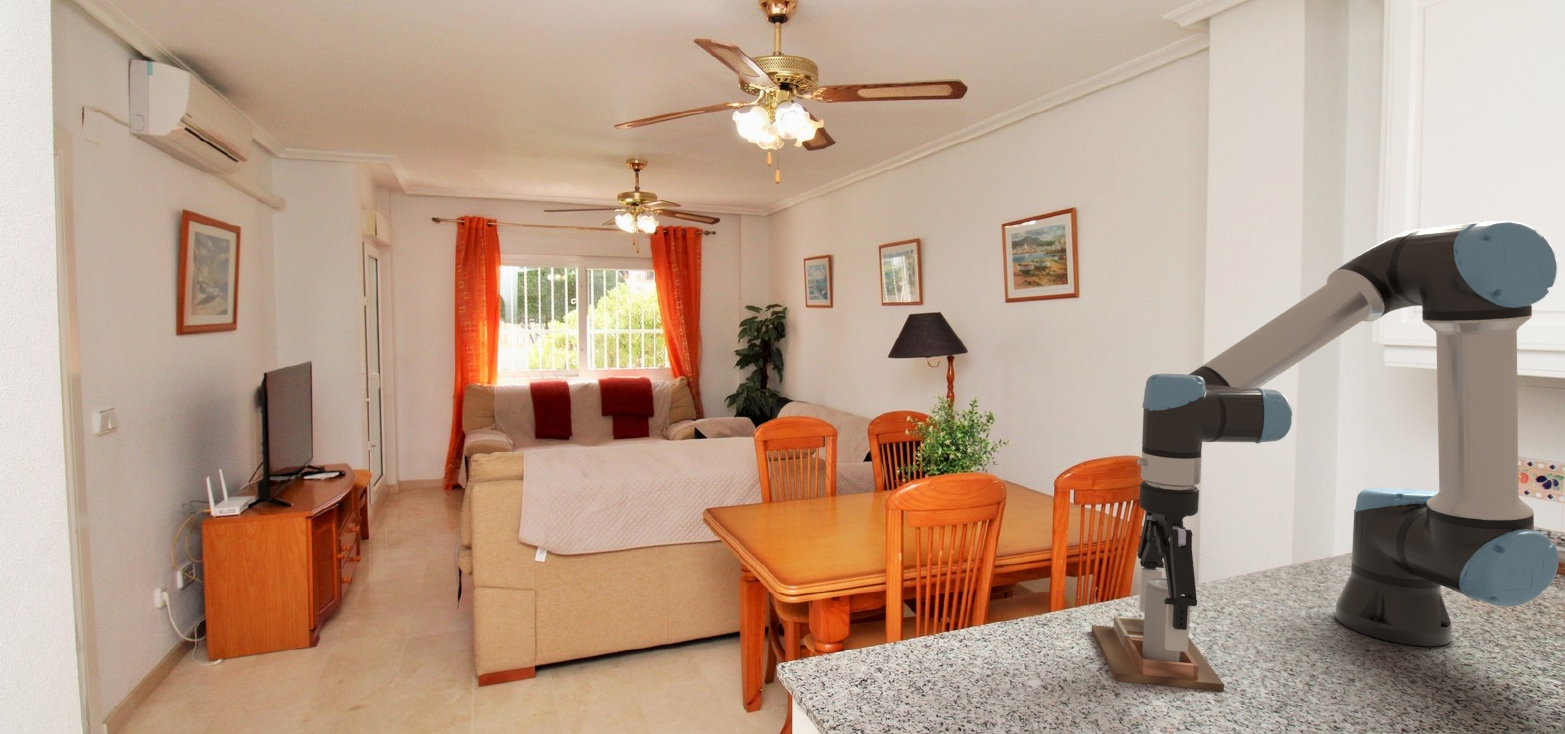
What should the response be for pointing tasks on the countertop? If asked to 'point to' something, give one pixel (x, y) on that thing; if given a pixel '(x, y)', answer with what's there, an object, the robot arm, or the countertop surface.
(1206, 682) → the socket board
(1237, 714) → the countertop surface
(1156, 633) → the beverage can
